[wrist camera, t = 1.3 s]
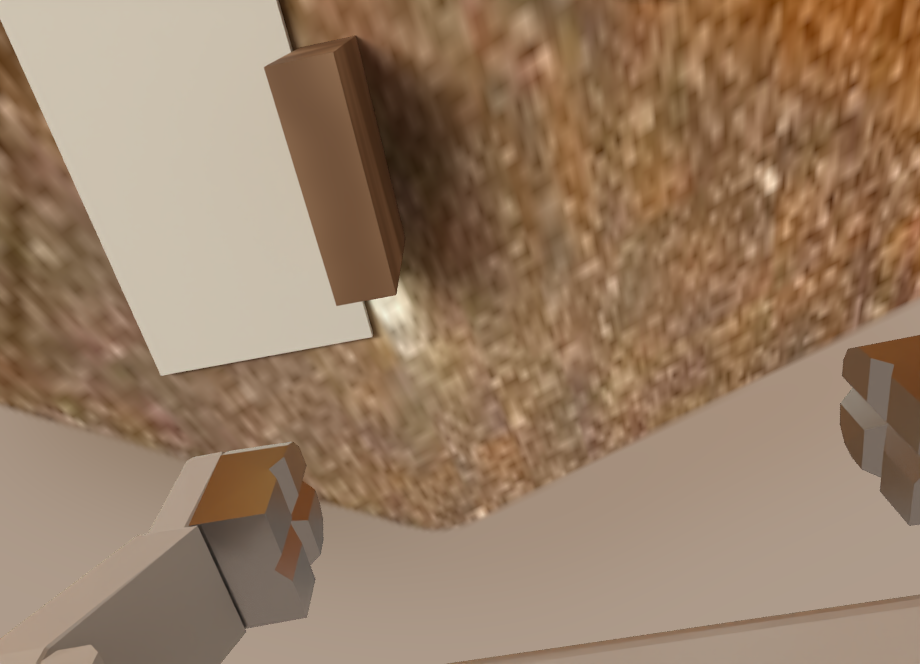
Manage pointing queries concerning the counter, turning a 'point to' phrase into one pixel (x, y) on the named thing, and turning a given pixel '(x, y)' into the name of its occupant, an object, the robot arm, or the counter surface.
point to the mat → (185, 171)
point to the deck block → (340, 167)
